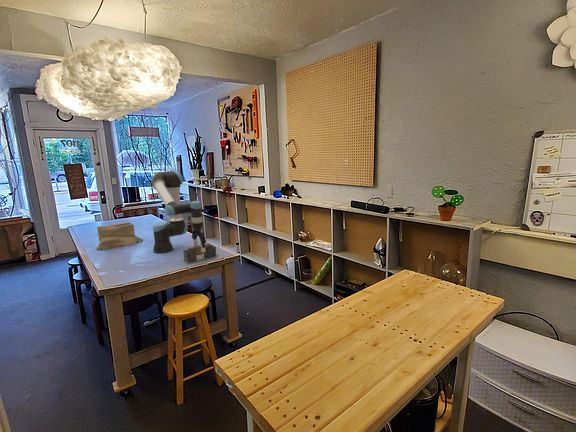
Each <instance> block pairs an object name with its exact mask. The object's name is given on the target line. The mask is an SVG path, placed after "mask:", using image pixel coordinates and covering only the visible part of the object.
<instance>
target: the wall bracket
mask: <svg viewBox="0 0 576 432" xmlns="http://www.w3.org/2000/svg"><path fill="white" fill-rule="evenodd" d="M109 225H110V226H109V227H108V228H111V227H113V226H111V225H112V224H109ZM135 240H136V243H140V242H143V241H144V239H143V238H141V237H139V236H137V235H135ZM95 248H96V250H99V251H101V249H102V243H101V241H100V242H99V241H98V244H97V246H96V247H95Z"/></svg>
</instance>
